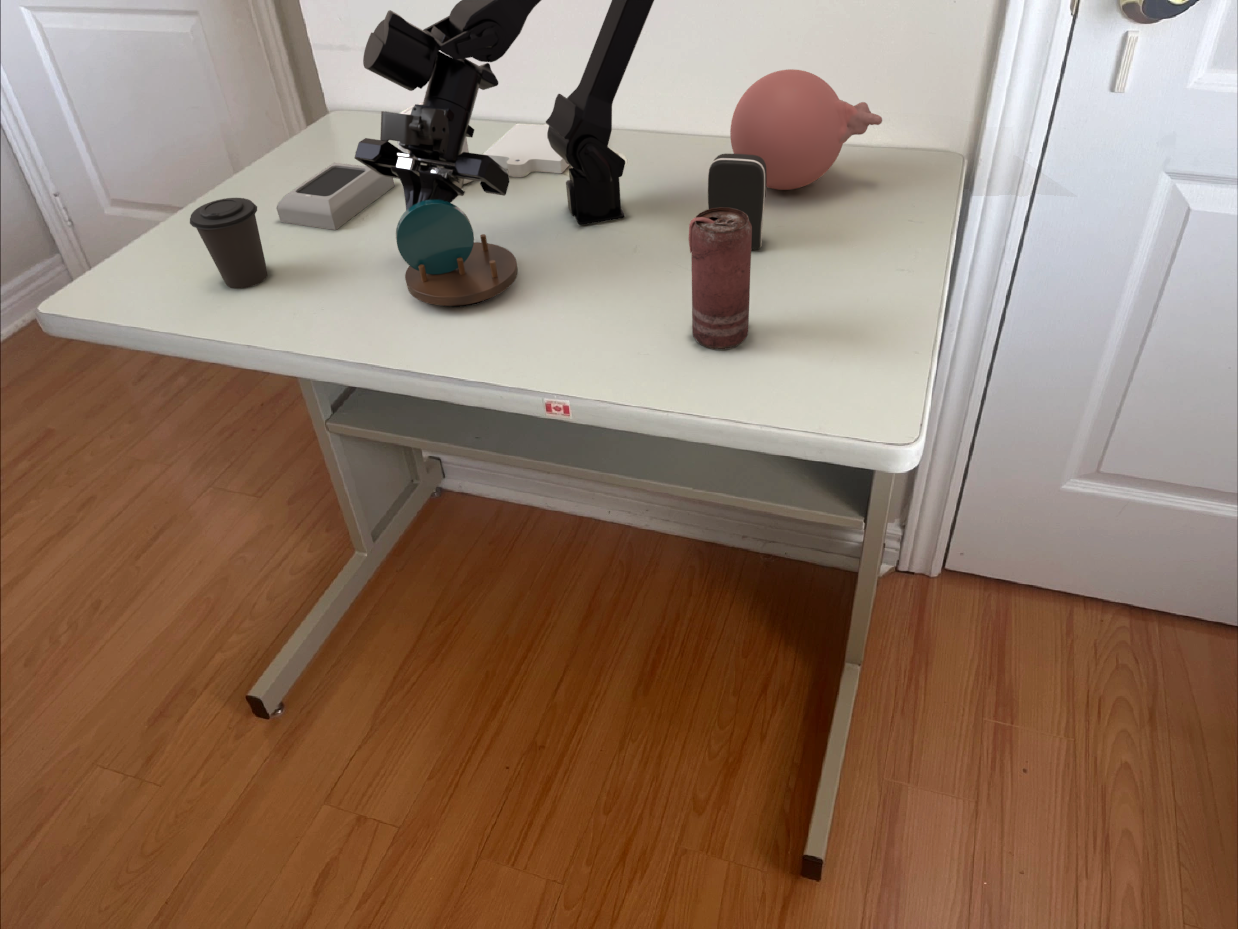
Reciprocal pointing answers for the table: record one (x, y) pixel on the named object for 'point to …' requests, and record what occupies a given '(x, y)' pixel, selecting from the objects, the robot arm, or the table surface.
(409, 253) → the dish rack
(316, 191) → the grey flat block
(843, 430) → the table surface
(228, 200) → the coffee cup
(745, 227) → the worn red soda can
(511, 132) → the mounting plate
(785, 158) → the round balloon
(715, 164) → the black rounded block
